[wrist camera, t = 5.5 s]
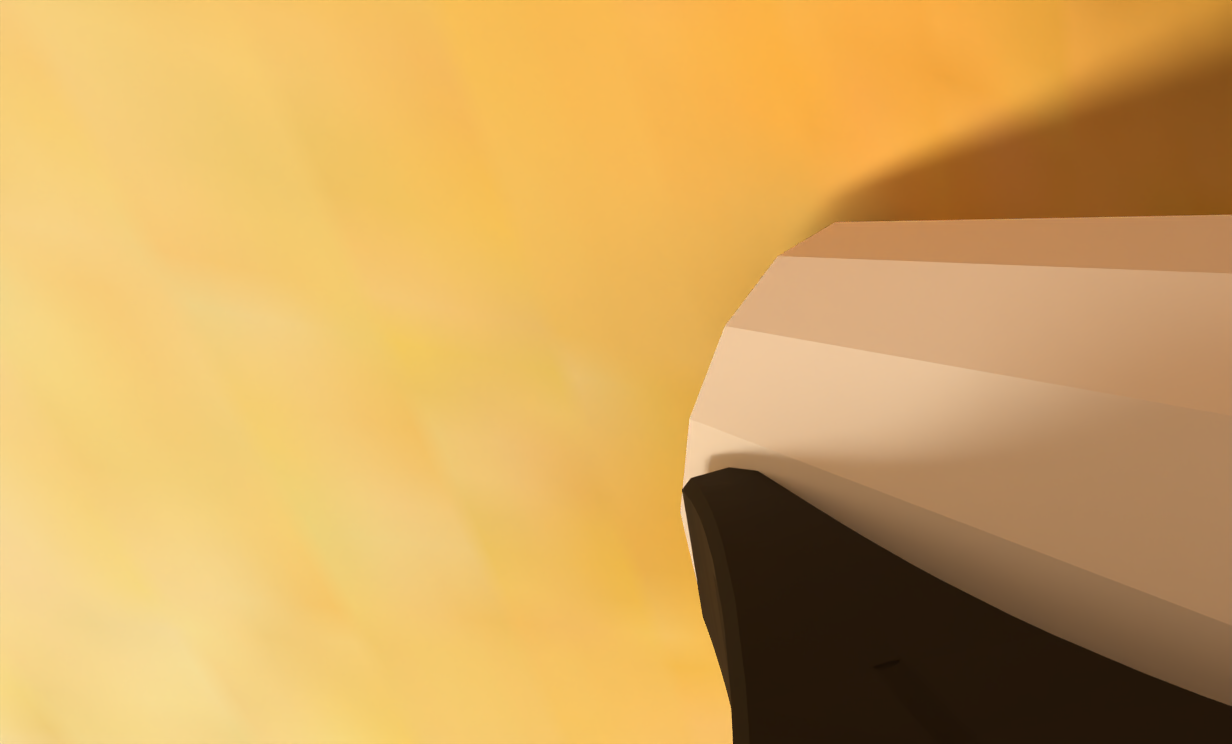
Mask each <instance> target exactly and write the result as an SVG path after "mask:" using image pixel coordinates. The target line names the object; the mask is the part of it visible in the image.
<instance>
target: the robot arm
mask: <svg viewBox="0 0 1232 744" xmlns="http://www.w3.org/2000/svg"><path fill="white" fill-rule="evenodd" d="M682 493H683V499H684V505H685V511H686V517H687V523H688V529H689V536H690V542H691V548H692V554H693V560H694V566H695V572H696V578H697V584H698V590H699V596H700V602H701V608H702V614H703V618H704V621H705V624H706V626H707V629H708V632H709V635H710V638H711V640H712V643H713V646H714V649H715V653H716V656H717V659H718V662H719V665H720V669H721V672H722V675H723V679H724V682H725V686H726V690H727V693H728V697H729V701H730V705H731V710H732V730H733V744H1232V706H1230V705H1227V704H1224V703H1222V702H1219V701H1216V700H1213V699H1210V698H1207V697H1205V696H1202V695H1199V694H1197V693H1194V692H1192V691H1189V690H1186V689H1184V688H1181V687H1179V686H1176V685H1173V684H1171V683H1168V682H1166V681H1163V680H1160V679H1158V678H1155V677H1153V676H1150V675H1148V674H1145V673H1143V672H1140V671H1138V670H1135V669H1133V668H1131V667H1128V666H1126V665H1124V664H1121V663H1119V662H1117V661H1114V660H1112V659H1109V658H1107V657H1105V656H1102V655H1100V654H1098V653H1095V652H1093V651H1091V650H1088V649H1086V648H1084V647H1081V646H1079V645H1077V644H1074V643H1072V642H1069V641H1067V640H1065V639H1062V638H1060V637H1058V636H1055V635H1053V634H1051V633H1049V632H1046V631H1044V630H1042V629H1040V628H1038V627H1036V626H1033V625H1031V624H1029V623H1027V622H1025V621H1023V620H1020V619H1018V618H1016V617H1014V616H1012V615H1010V614H1008V613H1006V612H1004V611H1002V610H1000V609H998V608H996V607H994V606H992V605H990V604H988V603H986V602H984V601H982V600H980V599H978V598H976V597H974V596H972V595H970V594H968V593H966V592H964V591H962V590H960V589H958V588H956V587H954V586H952V585H950V584H948V583H946V582H944V581H942V580H940V579H939V578H937V577H935V576H933V575H931V574H929V573H927V572H926V571H924V570H922V569H920V568H918V567H916V566H914V565H913V564H911V563H909V562H907V561H906V560H904V559H902V558H900V557H899V556H897V555H895V554H893V553H892V552H890V551H888V550H886V549H885V548H883V547H881V546H879V545H878V544H876V543H874V542H872V541H871V540H869V539H867V538H865V537H864V536H862V535H860V534H859V533H857V532H855V531H854V530H852V529H850V528H849V527H847V526H845V525H844V524H842V523H840V522H839V521H837V520H836V519H834V518H832V517H831V516H829V515H828V514H826V513H824V512H823V511H821V510H819V509H818V508H816V507H815V506H813V505H811V504H810V503H808V502H807V501H805V500H803V499H802V498H800V497H799V496H797V495H796V494H794V493H792V492H791V491H789V490H788V489H786V488H784V487H783V486H781V485H780V484H778V483H776V482H775V481H773V480H772V479H770V478H768V477H767V476H765V475H764V474H762V473H760V472H759V471H756V470H748V469H740V468H732V467H728V468H724V469H721V470H717V471H714V472H710V473H707V474H703V475H700V476H696V477H692V478H690V480H689V481H688V482H687V484H686V485H685V486H684V488H683V489H682Z"/></svg>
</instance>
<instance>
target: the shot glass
mask: <svg viewBox="0 0 1232 744" xmlns="http://www.w3.org/2000/svg"><path fill="white" fill-rule="evenodd" d="M728 467H732V468H740V469H748V470H756V471H759V472H760V473H762V474H764V475H765V476H767V477H768V478H770V479H772V480H773V481H775V482H776V483H778V484H780V485H781V486H783V487H784V488H786V489H788V490H789V491H791V492H792V493H794V494H796V495H797V496H799V497H800V498H802V499H803V500H805V501H807V502H808V503H810V504H811V505H813V506H815V507H816V508H818V509H819V510H821V511H823V512H824V513H826V514H828V515H829V516H831V517H832V518H834V519H836V520H837V521H839V522H840V523H842V524H844V525H845V526H847V527H849V528H850V529H852V530H854V531H855V532H857V533H859V534H860V535H862V536H864V537H865V538H867V539H869V540H871V541H872V542H874V543H876V544H878V545H879V546H881V547H883V548H885V549H886V550H888V551H890V552H892V553H893V554H895V555H897V556H899V557H900V558H902V559H904V560H906V561H907V562H909V563H911V564H913V565H914V566H916V567H918V568H920V569H922V570H924V571H926V572H927V573H929V574H931V575H933V576H935V577H937V578H939V579H940V580H942V581H944V582H946V583H948V584H950V585H952V586H954V587H956V588H958V589H960V590H962V591H964V592H966V593H968V594H970V595H972V596H974V597H976V598H978V599H980V600H982V601H984V602H986V603H988V604H990V605H992V606H994V607H996V608H998V609H1000V610H1002V611H1004V612H1006V613H1008V614H1010V615H1012V616H1014V617H1016V618H1018V619H1020V620H1023V621H1025V622H1027V623H1029V624H1031V625H1033V626H1036V627H1038V628H1040V629H1042V630H1044V631H1046V632H1049V633H1051V634H1053V635H1055V636H1058V637H1060V638H1062V639H1065V640H1067V641H1069V642H1072V643H1074V644H1077V645H1079V646H1081V647H1084V648H1086V649H1088V650H1091V651H1093V652H1095V653H1098V654H1100V655H1102V656H1105V657H1107V658H1109V659H1112V660H1114V661H1117V662H1119V663H1121V664H1124V665H1126V666H1128V667H1131V668H1133V669H1135V670H1138V671H1140V672H1143V673H1145V674H1148V675H1150V676H1153V677H1155V678H1158V679H1160V680H1163V681H1166V682H1168V683H1171V684H1173V685H1176V686H1179V687H1181V688H1184V689H1186V690H1189V691H1192V692H1194V693H1197V694H1199V695H1202V696H1205V697H1207V698H1210V699H1213V700H1216V701H1219V702H1222V703H1224V704H1227V705H1230V706H1232V215H1186V216H1133V217H1079V218H1026V219H973V220H919V221H866V222H834V223H833V224H831V225H829V226H828V227H826V228H824V229H823V230H821V231H819V232H817V233H816V234H814V235H812V236H811V237H809V238H807V239H806V240H804V241H802V242H801V243H799V244H797V245H796V246H794V247H792V248H791V249H789V250H787V251H785V252H784V253H782V254H780V255H779V256H777V258H776V259H775V260H774V262H773V263H772V264H771V266H770V267H769V268H768V270H767V271H766V272H765V274H764V275H763V276H762V278H761V279H760V280H759V282H758V283H757V284H756V286H755V287H754V288H753V289H752V291H751V292H750V293H749V295H748V296H747V297H746V299H745V300H744V301H743V303H742V304H741V305H740V307H739V308H738V309H737V311H736V312H735V313H734V315H733V316H732V317H731V319H730V320H729V321H728V323H727V324H726V325H725V327H724V330H723V332H722V335H721V337H720V340H719V343H718V345H717V348H716V351H715V353H714V356H713V358H712V361H711V364H710V366H709V369H708V372H707V374H706V377H705V379H704V382H703V385H702V387H701V390H700V393H699V395H698V398H697V400H696V403H695V406H694V408H693V411H692V413H691V416H690V419H689V429H688V439H687V450H686V460H685V470H684V481H683V488H684V486H685V485H686V484H687V482H688V481H689V480H690V478H692V477H696V476H700V475H703V474H707V473H710V472H714V471H717V470H721V469H724V468H728ZM680 513H681V517H682V521H683V525H684V530H685V534H686V538H687V542H688V546H689V551H690V555H691V559H692V563H693V567H694V571H695V566H694V560H693V554H692V548H691V542H690V536H689V529H688V523H687V517H686V511H685V505H684V499H683V493H682V501H681V511H680ZM695 576H696V572H695ZM696 580H697V578H696Z"/></svg>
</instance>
